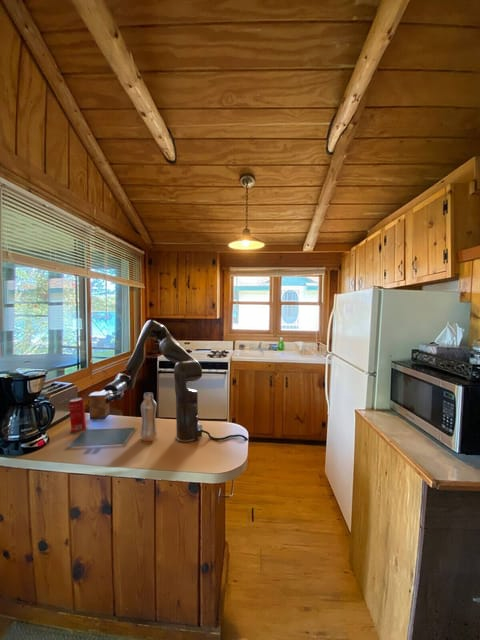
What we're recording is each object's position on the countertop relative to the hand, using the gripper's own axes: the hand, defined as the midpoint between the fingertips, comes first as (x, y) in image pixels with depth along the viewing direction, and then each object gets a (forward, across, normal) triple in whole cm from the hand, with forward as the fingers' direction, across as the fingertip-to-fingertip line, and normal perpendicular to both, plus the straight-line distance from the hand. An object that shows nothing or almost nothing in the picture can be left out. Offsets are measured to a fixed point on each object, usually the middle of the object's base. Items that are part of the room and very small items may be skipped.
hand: (98, 401), depth 113 cm
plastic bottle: (-1, +20, +18) cm, 27 cm away
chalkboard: (-4, 0, +18) cm, 18 cm away
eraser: (-1, 0, +7) cm, 7 cm away
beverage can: (-14, -15, +18) cm, 27 cm away
